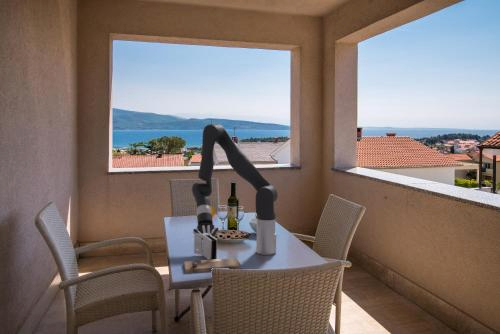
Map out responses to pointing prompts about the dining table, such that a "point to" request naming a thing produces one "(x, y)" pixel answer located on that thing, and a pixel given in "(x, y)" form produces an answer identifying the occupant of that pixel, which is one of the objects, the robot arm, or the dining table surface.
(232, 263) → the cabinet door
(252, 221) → the chinaware
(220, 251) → the dining table surface
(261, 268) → the dining table surface
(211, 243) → the hinge
